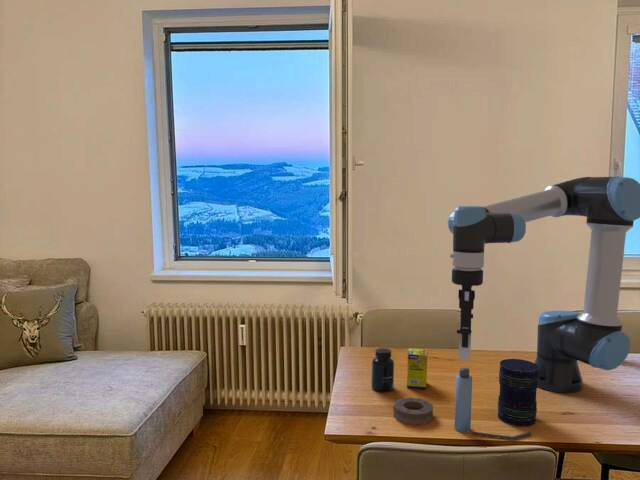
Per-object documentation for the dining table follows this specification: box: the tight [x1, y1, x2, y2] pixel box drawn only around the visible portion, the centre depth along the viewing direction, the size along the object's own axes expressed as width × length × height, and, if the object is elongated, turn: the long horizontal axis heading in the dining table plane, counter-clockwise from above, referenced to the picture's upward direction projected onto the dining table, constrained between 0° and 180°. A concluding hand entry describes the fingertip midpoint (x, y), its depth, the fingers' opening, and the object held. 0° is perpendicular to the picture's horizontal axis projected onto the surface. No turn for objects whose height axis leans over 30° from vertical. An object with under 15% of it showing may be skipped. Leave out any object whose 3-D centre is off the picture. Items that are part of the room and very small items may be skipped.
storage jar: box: [497, 358, 539, 428], centre depth 142 cm, size 10×10×15 cm
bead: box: [393, 396, 434, 426], centre depth 144 cm, size 10×10×3 cm
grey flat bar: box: [472, 431, 533, 441], centre depth 133 cm, size 14×4×1 cm, turn 75°
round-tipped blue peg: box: [454, 367, 473, 433], centre depth 136 cm, size 4×4×16 cm
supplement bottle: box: [370, 347, 395, 393], centre depth 162 cm, size 7×7×12 cm
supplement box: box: [406, 347, 428, 390], centre depth 165 cm, size 6×6×11 cm
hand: (464, 350), depth 134 cm, fingers open, 13 cm apart
